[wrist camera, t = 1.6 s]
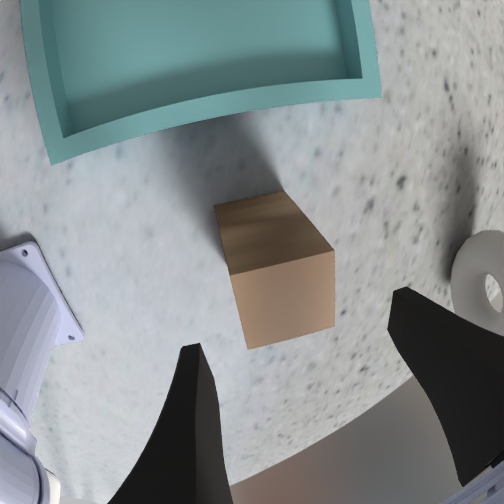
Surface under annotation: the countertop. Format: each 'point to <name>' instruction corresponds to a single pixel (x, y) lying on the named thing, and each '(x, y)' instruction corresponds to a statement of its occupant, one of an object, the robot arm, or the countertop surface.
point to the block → (277, 268)
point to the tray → (187, 62)
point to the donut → (479, 279)
